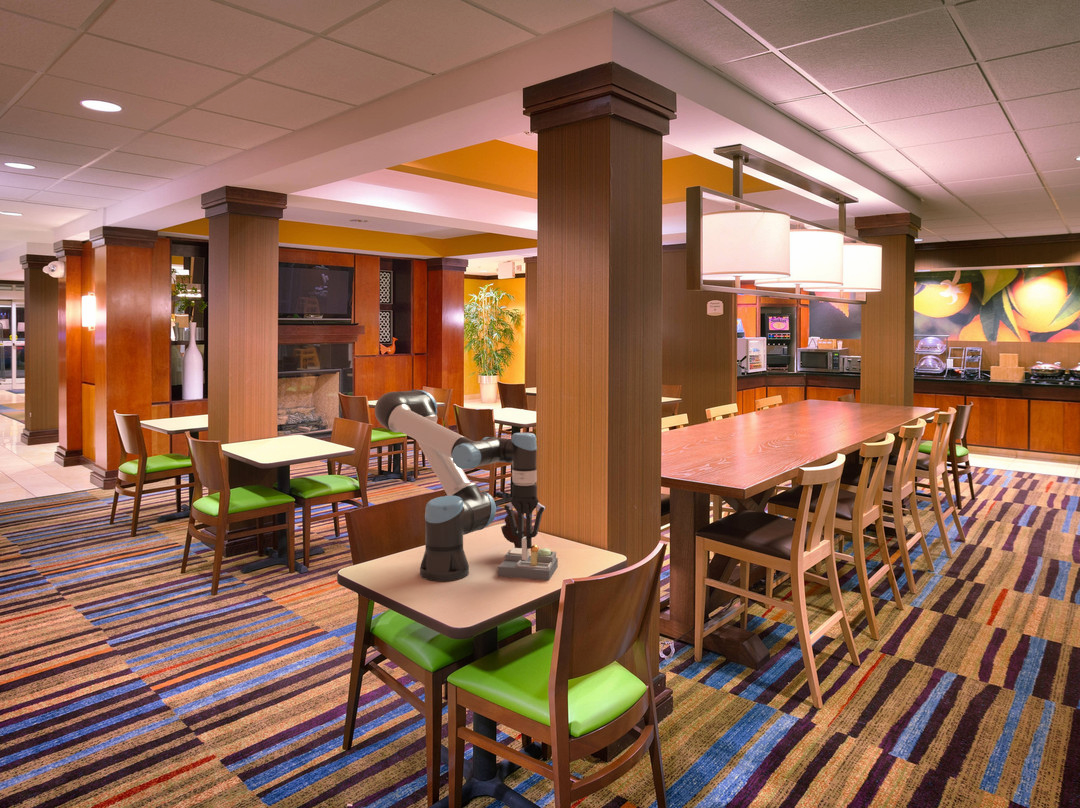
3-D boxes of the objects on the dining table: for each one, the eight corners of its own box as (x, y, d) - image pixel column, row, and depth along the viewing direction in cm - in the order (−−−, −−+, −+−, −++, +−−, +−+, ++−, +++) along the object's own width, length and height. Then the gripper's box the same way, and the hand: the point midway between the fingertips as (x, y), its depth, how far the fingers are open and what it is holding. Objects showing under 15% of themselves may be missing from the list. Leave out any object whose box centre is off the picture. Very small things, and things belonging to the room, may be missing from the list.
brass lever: (529, 565, 213) (529, 546, 212) (531, 563, 215) (531, 543, 215) (537, 566, 212) (537, 546, 212) (539, 563, 215) (539, 544, 214)
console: (498, 576, 213) (498, 560, 212) (509, 563, 226) (509, 548, 225) (549, 580, 209) (549, 564, 209) (557, 567, 222) (557, 551, 222)
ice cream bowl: (530, 560, 229) (530, 515, 227) (497, 558, 230) (497, 514, 229) (535, 551, 239) (535, 508, 238) (504, 549, 241) (504, 507, 240)
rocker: (509, 556, 220) (509, 552, 220) (512, 551, 223) (512, 547, 223) (522, 557, 220) (521, 553, 219) (524, 552, 222) (524, 548, 222)
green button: (538, 560, 218) (538, 551, 218) (540, 557, 222) (540, 548, 221) (549, 561, 217) (549, 552, 217) (551, 558, 221) (551, 548, 221)
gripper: (500, 484, 210) (501, 560, 212) (542, 486, 207) (543, 563, 209) (507, 480, 217) (508, 553, 219) (548, 481, 214) (548, 556, 216)
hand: (525, 558), depth 214 cm, fingers closed
